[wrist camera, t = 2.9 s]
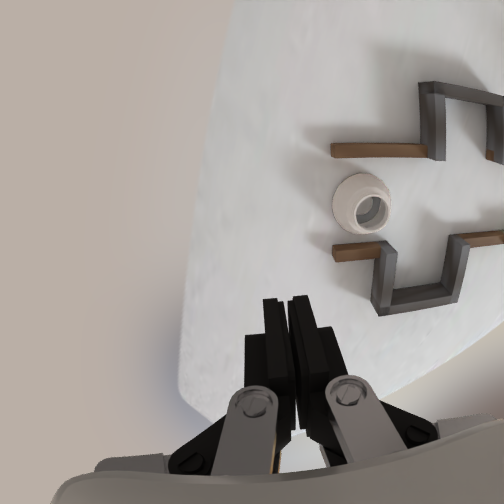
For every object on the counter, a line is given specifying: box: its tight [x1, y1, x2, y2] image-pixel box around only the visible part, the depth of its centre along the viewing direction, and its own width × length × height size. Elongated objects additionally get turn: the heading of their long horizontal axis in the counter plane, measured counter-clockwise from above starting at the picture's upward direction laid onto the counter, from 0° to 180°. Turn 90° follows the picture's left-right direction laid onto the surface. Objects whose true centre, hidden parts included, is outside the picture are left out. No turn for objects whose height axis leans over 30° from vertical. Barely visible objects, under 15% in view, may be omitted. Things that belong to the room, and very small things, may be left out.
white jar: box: [332, 173, 392, 234], centre depth 23 cm, size 5×3×5 cm
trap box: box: [331, 81, 504, 316], centre depth 23 cm, size 20×28×2 cm
